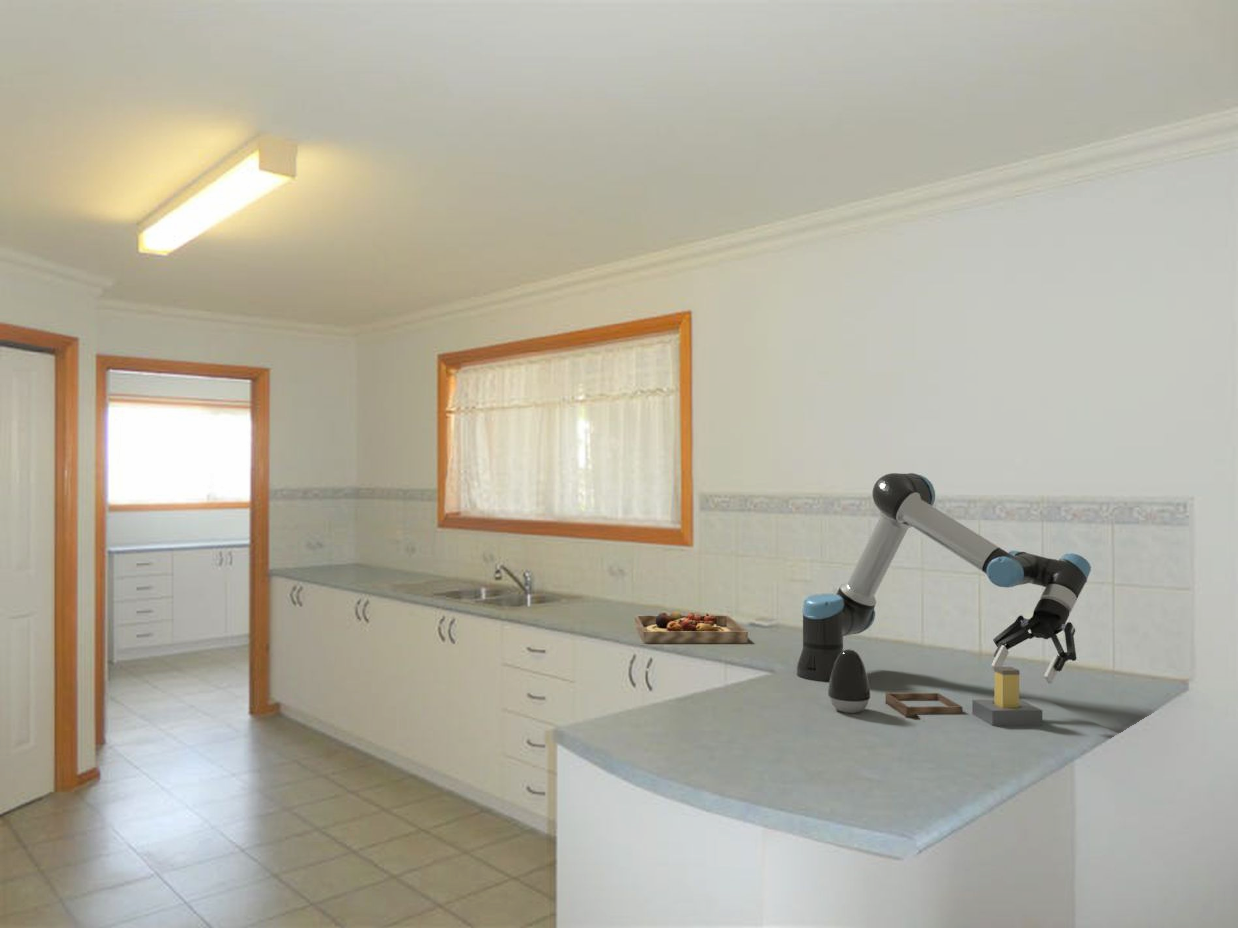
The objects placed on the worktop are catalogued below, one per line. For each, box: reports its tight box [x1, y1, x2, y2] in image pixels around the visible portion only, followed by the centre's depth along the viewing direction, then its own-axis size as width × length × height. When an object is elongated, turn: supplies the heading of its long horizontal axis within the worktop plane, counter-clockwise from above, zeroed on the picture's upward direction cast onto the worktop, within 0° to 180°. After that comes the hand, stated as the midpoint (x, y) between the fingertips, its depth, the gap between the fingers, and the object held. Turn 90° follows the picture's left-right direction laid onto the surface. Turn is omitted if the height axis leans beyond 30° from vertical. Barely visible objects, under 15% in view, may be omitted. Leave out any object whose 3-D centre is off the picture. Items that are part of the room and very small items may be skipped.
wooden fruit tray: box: [634, 614, 749, 644], centre depth 327 cm, size 37×37×4 cm
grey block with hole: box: [971, 699, 1043, 727], centre depth 209 cm, size 12×10×4 cm
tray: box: [885, 692, 964, 718], centre depth 221 cm, size 14×14×2 cm
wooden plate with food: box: [645, 610, 731, 631], centre depth 327 cm, size 32×32×8 cm
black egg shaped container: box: [827, 649, 871, 714], centre depth 220 cm, size 10×10×15 cm
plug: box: [993, 666, 1020, 708], centre depth 209 cm, size 4×4×12 cm
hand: (1020, 674), depth 211 cm, fingers open, 13 cm apart
